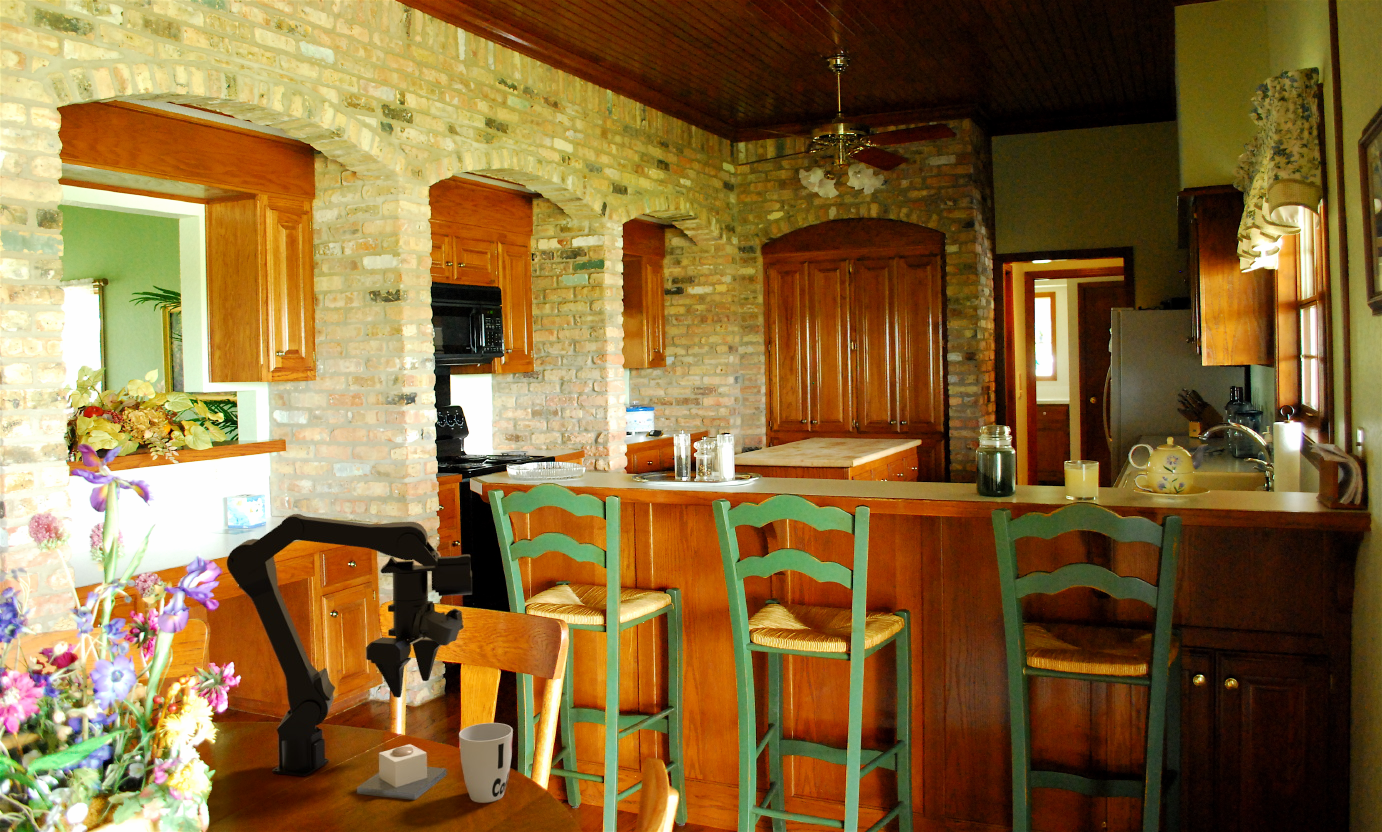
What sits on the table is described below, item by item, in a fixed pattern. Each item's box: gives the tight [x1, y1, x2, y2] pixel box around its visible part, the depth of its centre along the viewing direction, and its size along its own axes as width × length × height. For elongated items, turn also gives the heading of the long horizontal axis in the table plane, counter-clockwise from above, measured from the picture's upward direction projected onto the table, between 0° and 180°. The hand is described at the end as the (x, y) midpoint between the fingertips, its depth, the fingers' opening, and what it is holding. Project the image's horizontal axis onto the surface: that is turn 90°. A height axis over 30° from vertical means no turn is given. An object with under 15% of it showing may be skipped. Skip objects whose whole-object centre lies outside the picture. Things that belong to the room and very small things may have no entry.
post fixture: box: [356, 766, 448, 801], centre depth 156 cm, size 10×10×4 cm
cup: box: [458, 722, 514, 804], centre depth 151 cm, size 8×8×10 cm
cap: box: [378, 743, 428, 787], centre depth 156 cm, size 5×5×4 cm
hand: (411, 688), depth 166 cm, fingers open, 9 cm apart
